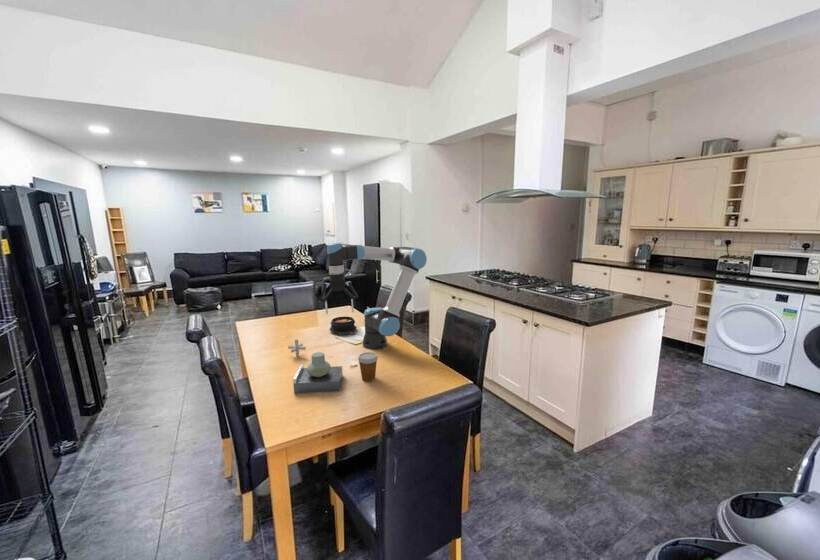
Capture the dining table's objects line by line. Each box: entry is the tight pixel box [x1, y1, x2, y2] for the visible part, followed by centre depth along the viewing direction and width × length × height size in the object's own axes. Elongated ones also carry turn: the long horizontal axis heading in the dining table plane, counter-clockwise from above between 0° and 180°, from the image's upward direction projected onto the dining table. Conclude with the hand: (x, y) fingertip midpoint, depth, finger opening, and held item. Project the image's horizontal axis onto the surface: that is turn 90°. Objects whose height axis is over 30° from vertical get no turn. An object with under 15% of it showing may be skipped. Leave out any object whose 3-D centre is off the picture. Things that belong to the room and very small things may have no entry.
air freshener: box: [306, 351, 332, 377], centre depth 163 cm, size 11×8×10 cm
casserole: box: [329, 316, 358, 335], centre depth 241 cm, size 25×19×8 cm
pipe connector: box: [287, 338, 307, 357], centre depth 198 cm, size 10×10×10 cm
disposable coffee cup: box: [357, 352, 379, 383], centre depth 169 cm, size 10×10×12 cm
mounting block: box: [292, 363, 343, 395], centre depth 165 cm, size 20×16×7 cm
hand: (340, 312), depth 184 cm, fingers open, 13 cm apart
